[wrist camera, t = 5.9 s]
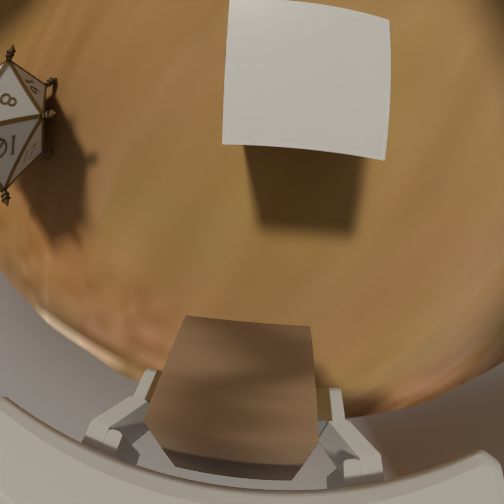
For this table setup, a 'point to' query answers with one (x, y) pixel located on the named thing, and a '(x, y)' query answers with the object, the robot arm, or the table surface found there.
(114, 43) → the table surface
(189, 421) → the walnut block
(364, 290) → the table surface
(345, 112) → the grey block
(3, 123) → the game die
